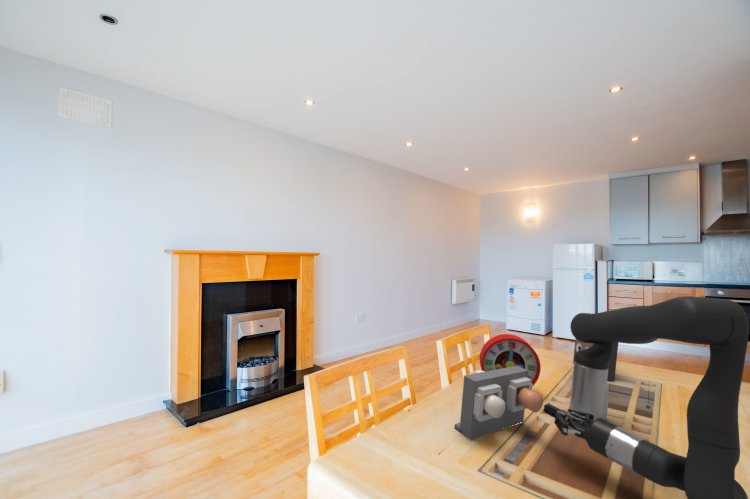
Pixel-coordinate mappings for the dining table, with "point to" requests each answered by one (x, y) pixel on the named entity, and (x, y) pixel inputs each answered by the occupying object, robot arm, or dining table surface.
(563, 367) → the dining table surface
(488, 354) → the toy clock
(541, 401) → the terracotta button
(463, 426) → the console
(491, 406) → the cream button
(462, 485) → the dining table surface
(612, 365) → the cereal box
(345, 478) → the dining table surface
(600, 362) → the robot arm
